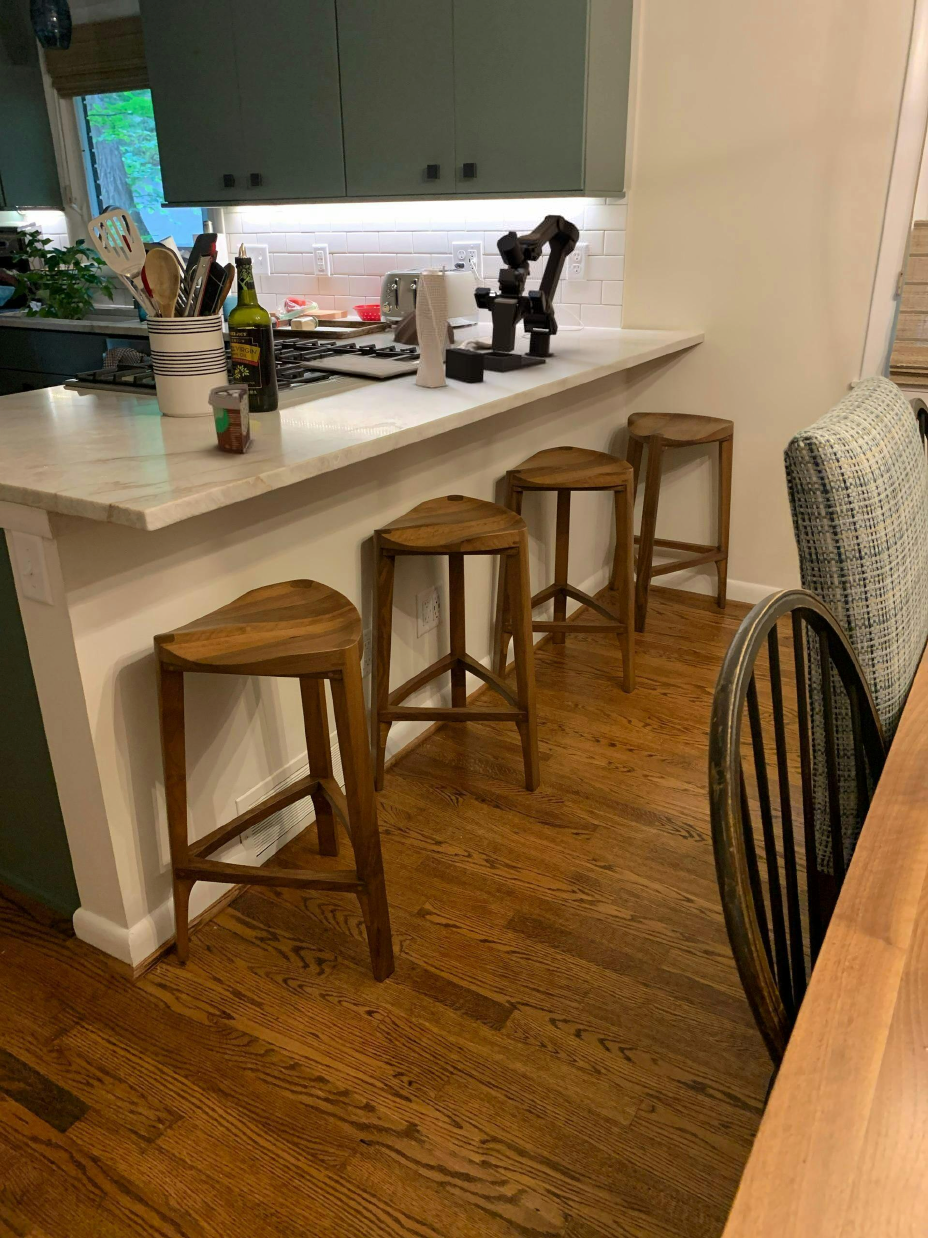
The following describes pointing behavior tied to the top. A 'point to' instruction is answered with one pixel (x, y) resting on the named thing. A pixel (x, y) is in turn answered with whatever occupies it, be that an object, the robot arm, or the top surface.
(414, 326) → the decorative dome
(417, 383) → the skyscraper
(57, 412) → the top surface
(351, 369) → the decorative slab
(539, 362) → the dark grey tray
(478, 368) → the black rectangular block
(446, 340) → the flask
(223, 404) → the food container
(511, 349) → the pad block
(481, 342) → the spoon
